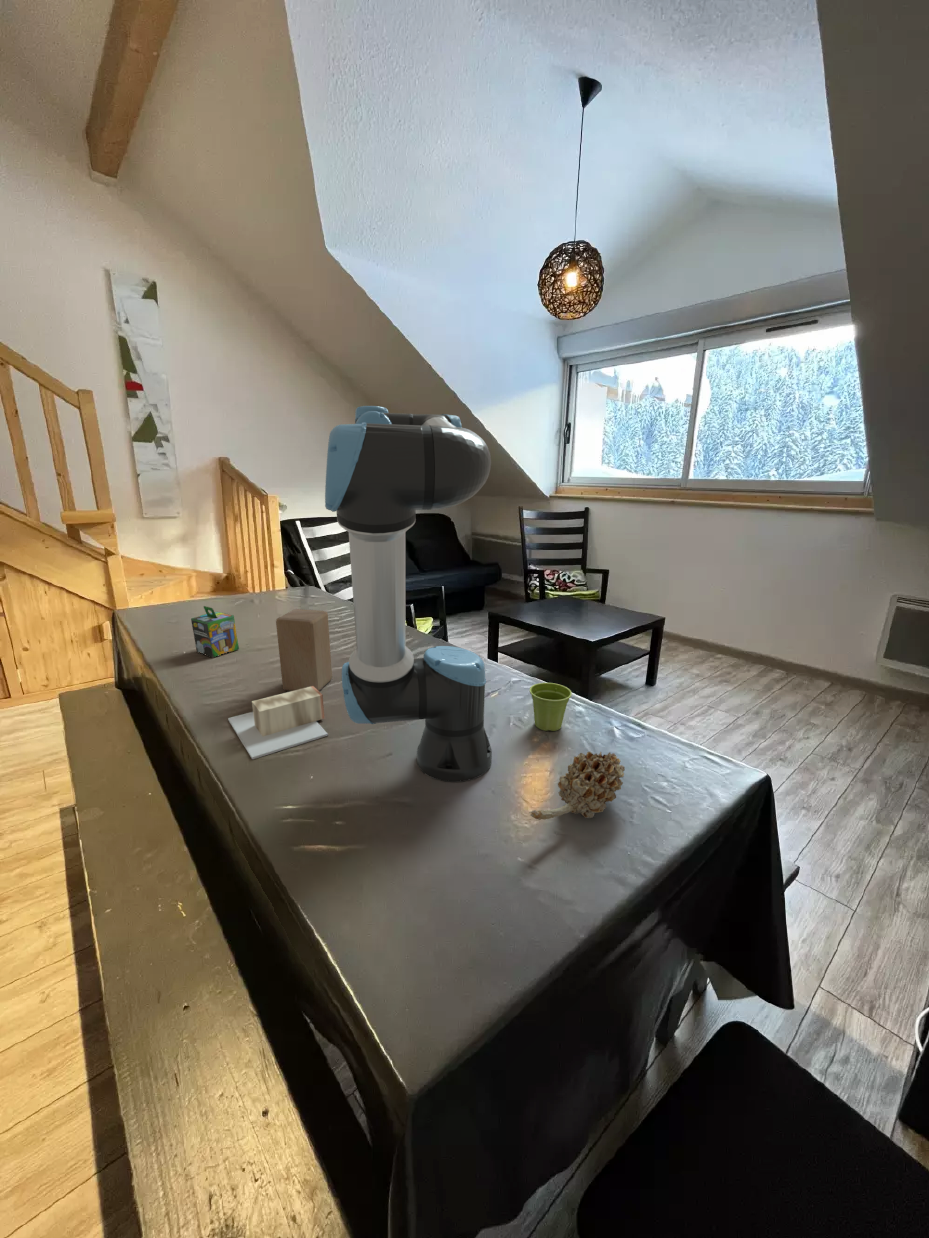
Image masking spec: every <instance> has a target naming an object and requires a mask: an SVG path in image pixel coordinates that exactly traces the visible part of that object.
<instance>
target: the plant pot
mask: <svg viewBox="0 0 929 1238" xmlns="http://www.w3.org/2000/svg"><path fill="white" fill-rule="evenodd" d="M572 692H573V691H572V690H571V689H570V688H568V687H567V686H565V685H562V684H558V683H553V682H539V683H535V684H533V685H531V686H530V688H529V693H530V695H531V699H532V705H533V718H534V725H535V727H536V728H537V729H539V730H542V731H545V732H547V731H552V732H556V731H558V730H560V729H561V728H562V726H563V721H564V717H565V713H566V708H567V705H568V703H569V701H570V699H571V697H572Z"/></svg>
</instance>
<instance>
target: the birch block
mask: <svg viewBox="0 0 929 1238" xmlns="http://www.w3.org/2000/svg"><path fill="white" fill-rule="evenodd" d="M323 696H324V695H323V694H322V693H321V692H320V691H318V690H317V689H316V688H315V687H314V686H311V687H307V688H303V689H299V690H295V691H287V692H283V693H280V694H274V695H270V696H267V697H264V698H260V699H255V700H252V701H251V706H252V707H251V708H252V712H253V715H254V723H255V726H256V728H257V729H258V731H259V732H260V734H261V735H262V736H266V735H270V734H273V733H276V732H280V731H283V730H287V729H290V728H294V727H297V726H300V725H304V724H307V723H311V722H314V721H316V722H318V721H321V720H325V708H324V707H325V705H324V697H323Z"/></svg>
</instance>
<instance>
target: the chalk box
mask: <svg viewBox="0 0 929 1238" xmlns="http://www.w3.org/2000/svg"><path fill="white" fill-rule="evenodd" d="M203 609H204V612H205V614H201V615H199V616H195V617H192V618H191V619H190V620H191V626H192V632H193V638H194V643H195V649H196V653H197V652H201V653H203V654H206V655H208V656H207V657H209V656H210V657H209V658H211V657H215V658H217V657H216V656H218V655H220V656H222V655H221V654H223V655H225V654H224V653H226V654H228V653H227V652H229V653H231V652H235V651H237V650H239V649H240V646H239V641H238V635H237V629H236V621H235V616H234V614H230V613H225V612H220V611H215V610H214V608H212V607H210V606H207V605H206V606H205V605H203ZM209 611H210V612H209ZM203 654H202V655H203ZM206 655H205V656H206ZM218 657H219V656H218Z"/></svg>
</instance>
